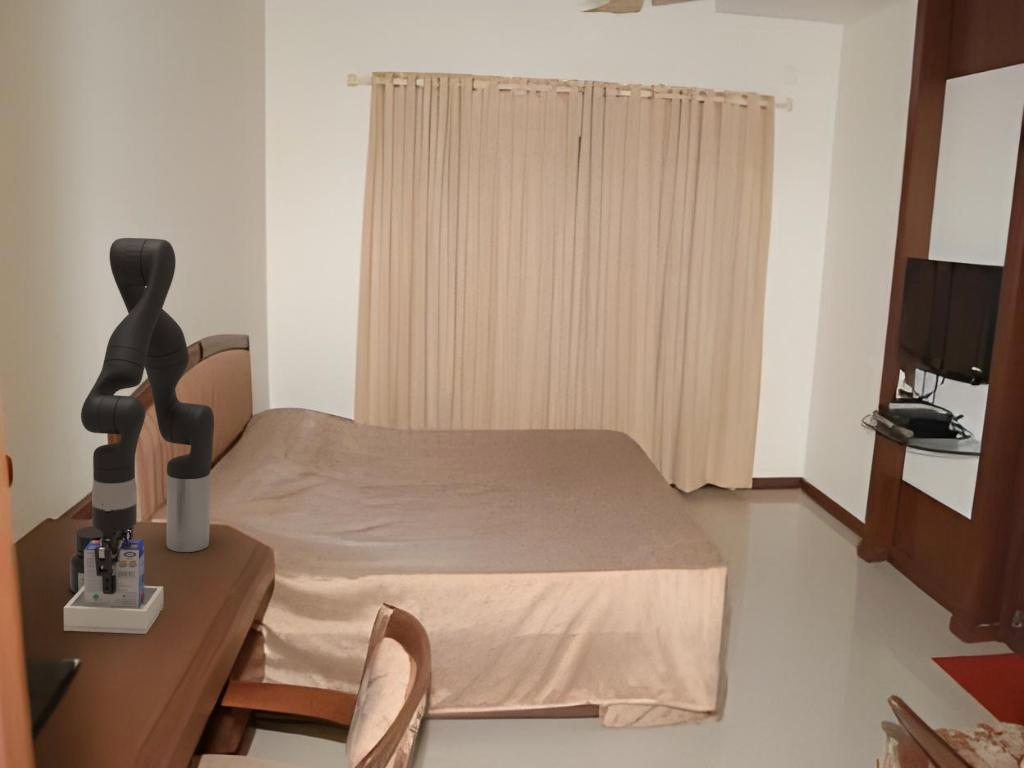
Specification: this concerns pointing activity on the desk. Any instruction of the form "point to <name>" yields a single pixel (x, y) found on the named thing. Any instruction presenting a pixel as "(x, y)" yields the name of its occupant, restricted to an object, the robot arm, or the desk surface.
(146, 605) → the tray
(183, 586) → the desk surface
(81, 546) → the ink bottle
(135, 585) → the ink cartridge box
